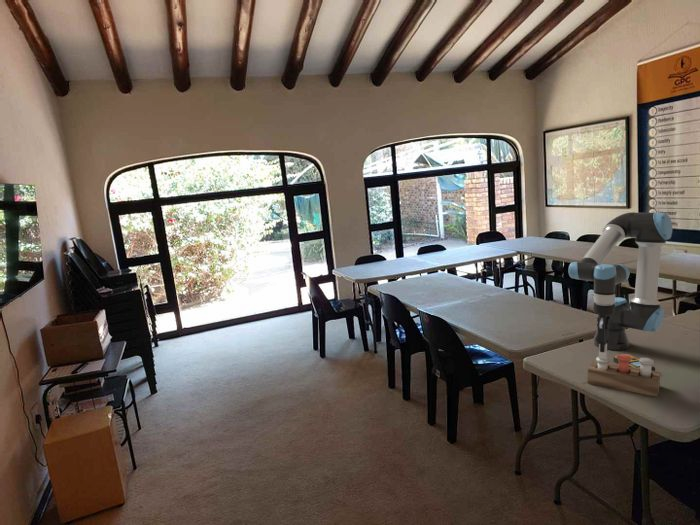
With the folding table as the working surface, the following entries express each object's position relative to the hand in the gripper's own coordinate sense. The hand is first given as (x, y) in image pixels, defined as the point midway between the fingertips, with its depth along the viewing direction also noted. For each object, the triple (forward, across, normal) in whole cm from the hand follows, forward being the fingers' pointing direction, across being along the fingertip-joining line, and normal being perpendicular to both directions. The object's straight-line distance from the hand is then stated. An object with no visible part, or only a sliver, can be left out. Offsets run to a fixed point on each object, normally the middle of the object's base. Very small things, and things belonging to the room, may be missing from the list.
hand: (602, 358), depth 188 cm
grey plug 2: (+5, 0, +15) cm, 16 cm away
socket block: (+10, 0, +8) cm, 12 cm away
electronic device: (+10, -20, +9) cm, 24 cm away
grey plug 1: (+8, 0, 0) cm, 8 cm away
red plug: (+5, 0, +8) cm, 9 cm away
